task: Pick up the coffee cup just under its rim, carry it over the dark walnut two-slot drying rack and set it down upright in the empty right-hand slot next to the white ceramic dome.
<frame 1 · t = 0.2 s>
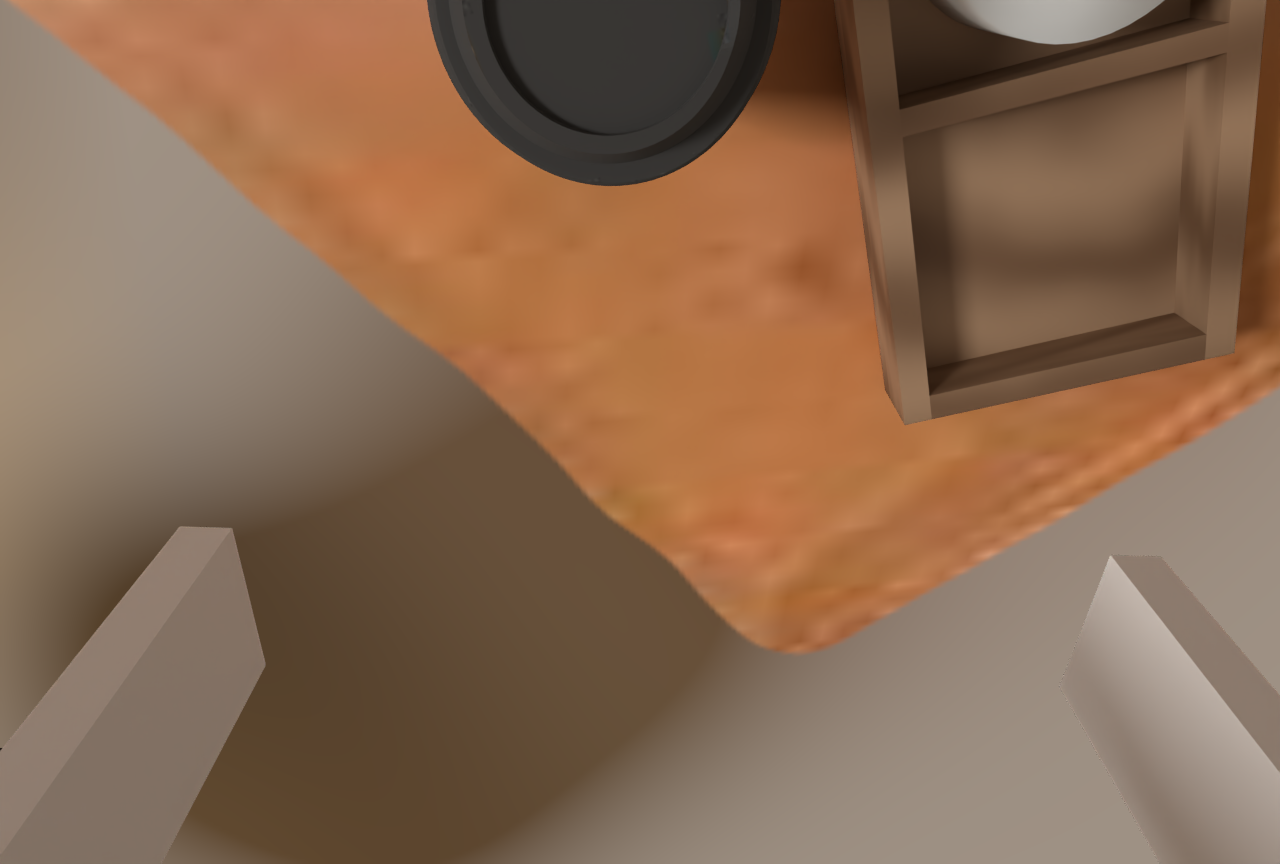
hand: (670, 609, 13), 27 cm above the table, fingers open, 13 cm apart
rack: (1023, 70, 34), on the table
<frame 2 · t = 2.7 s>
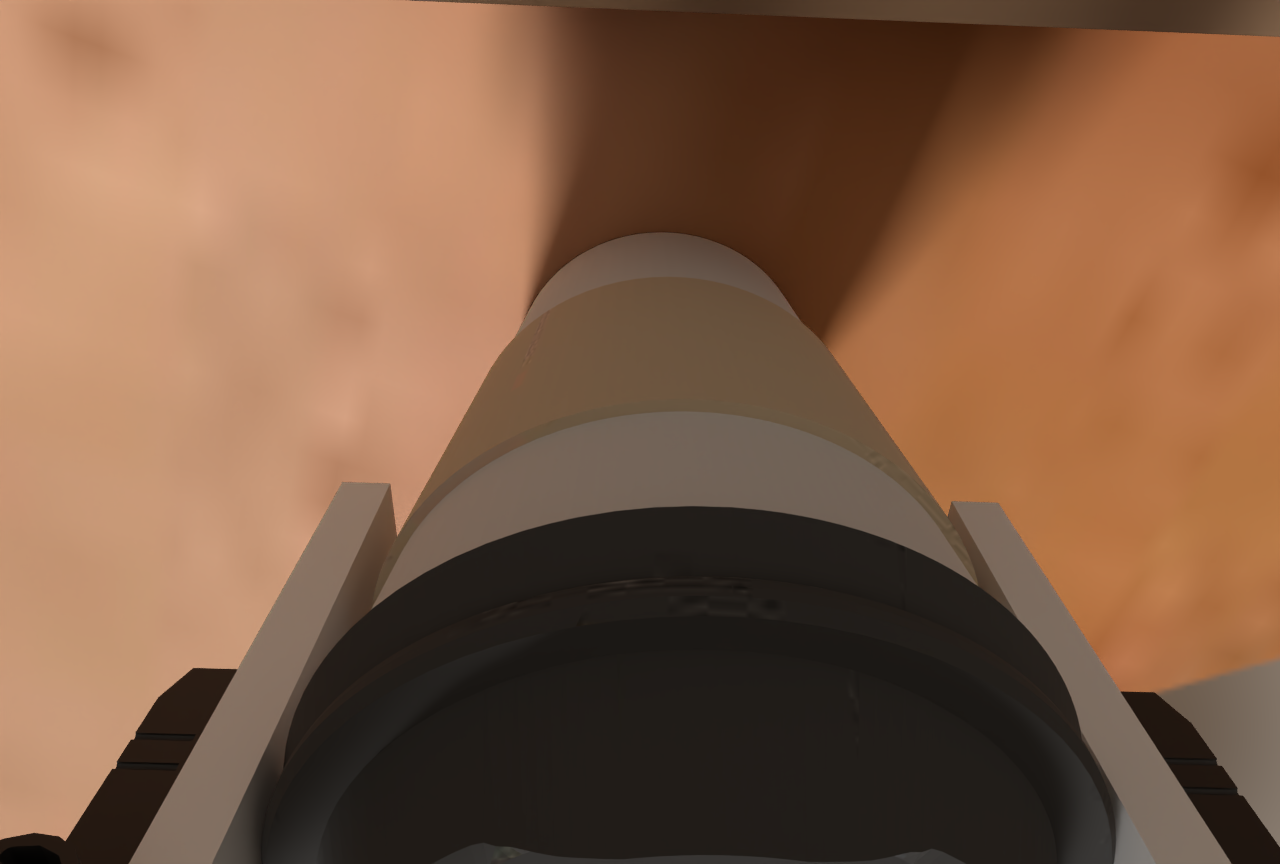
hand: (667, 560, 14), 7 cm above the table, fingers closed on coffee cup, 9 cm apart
coffee cup: (659, 364, 21), on the table, touching gripper
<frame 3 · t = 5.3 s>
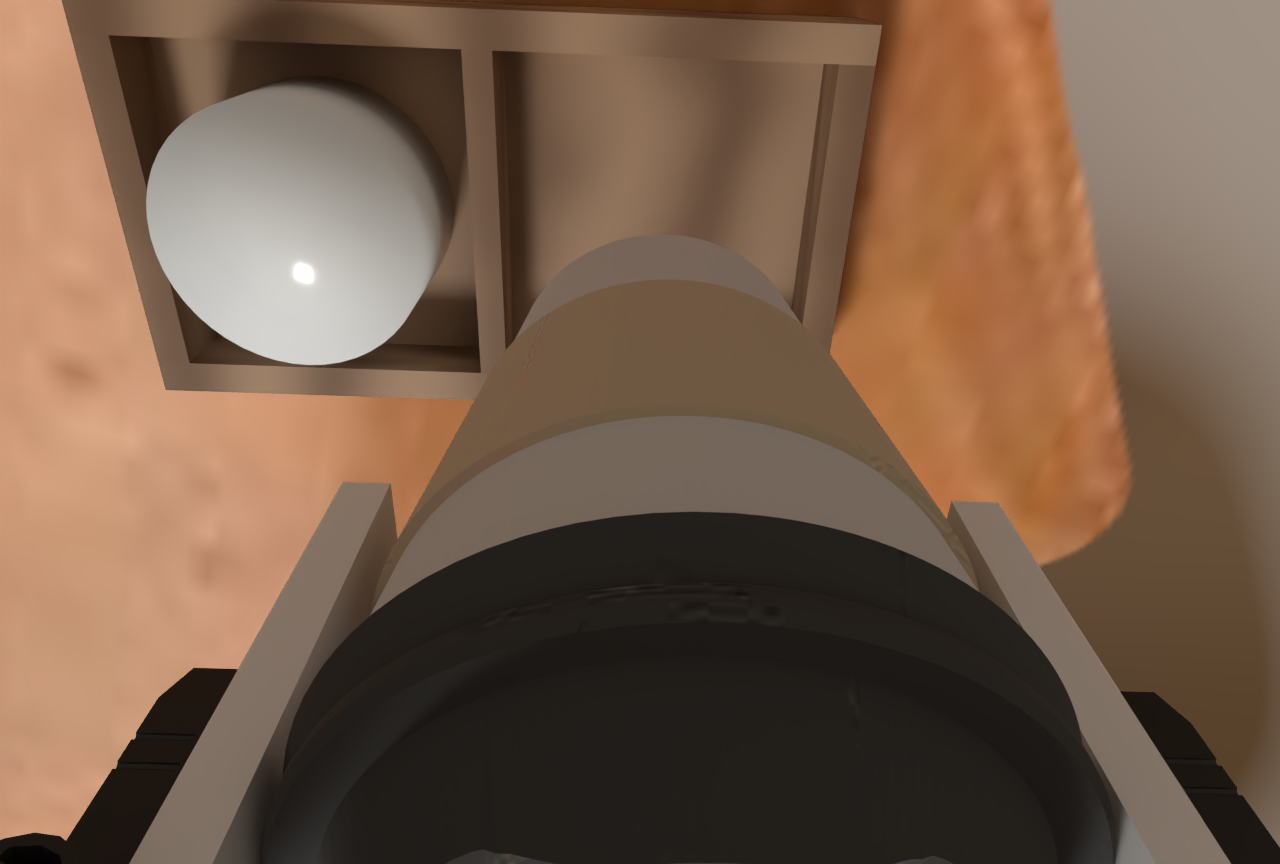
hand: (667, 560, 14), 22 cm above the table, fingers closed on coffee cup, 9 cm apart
white ceramic dome: (335, 202, 32), point 1 cm above the table, touching rack
coffee cup: (659, 366, 21), point 15 cm above the table, touching gripper
rack: (500, 201, 33), on the table
when the fingers open (10 cm above the table, at t = 8.0 s): coffee cup drops 1 cm, resting on rack.
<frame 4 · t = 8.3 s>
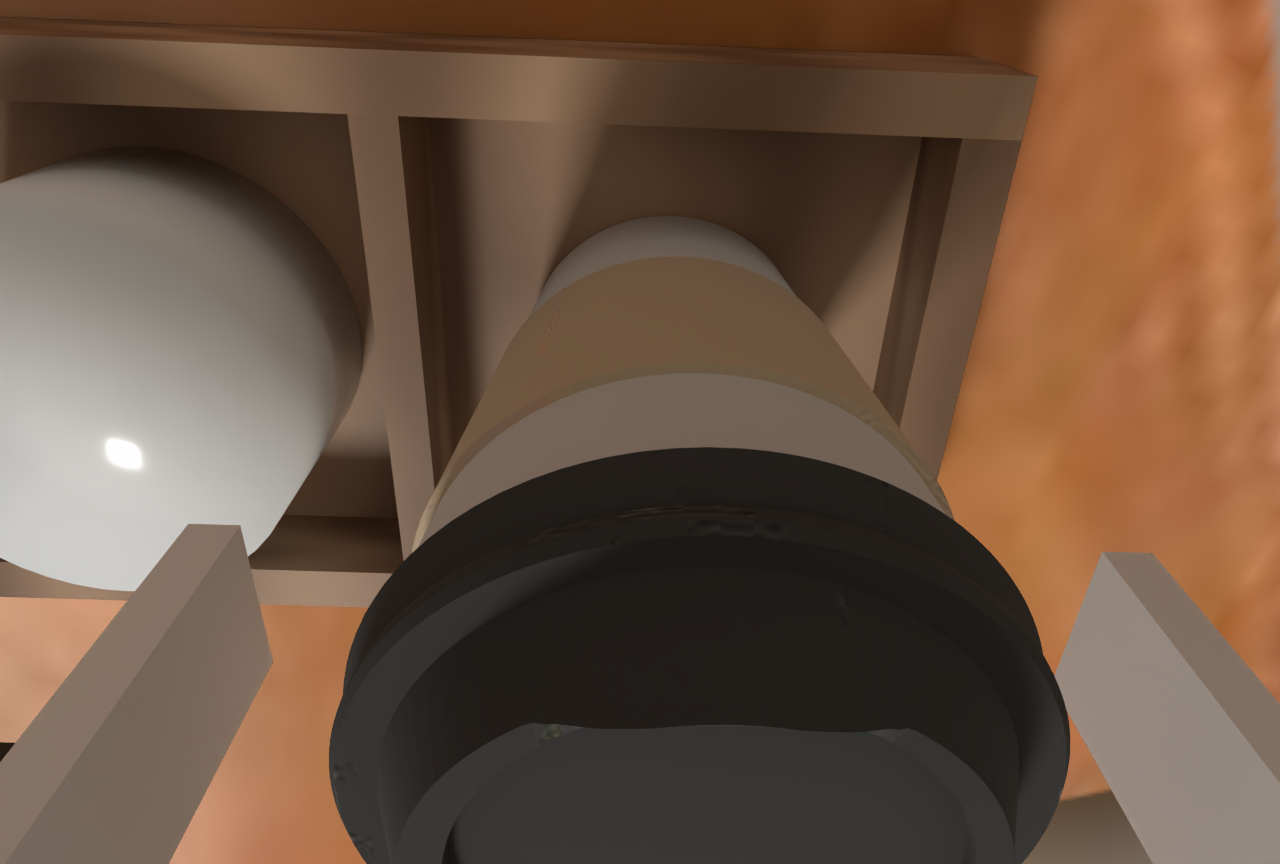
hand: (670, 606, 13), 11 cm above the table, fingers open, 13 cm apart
white ceramic dome: (185, 327, 22), point 1 cm above the table, touching rack
coffee cup: (664, 341, 22), point 1 cm above the table, touching rack
rack: (434, 320, 23), on the table
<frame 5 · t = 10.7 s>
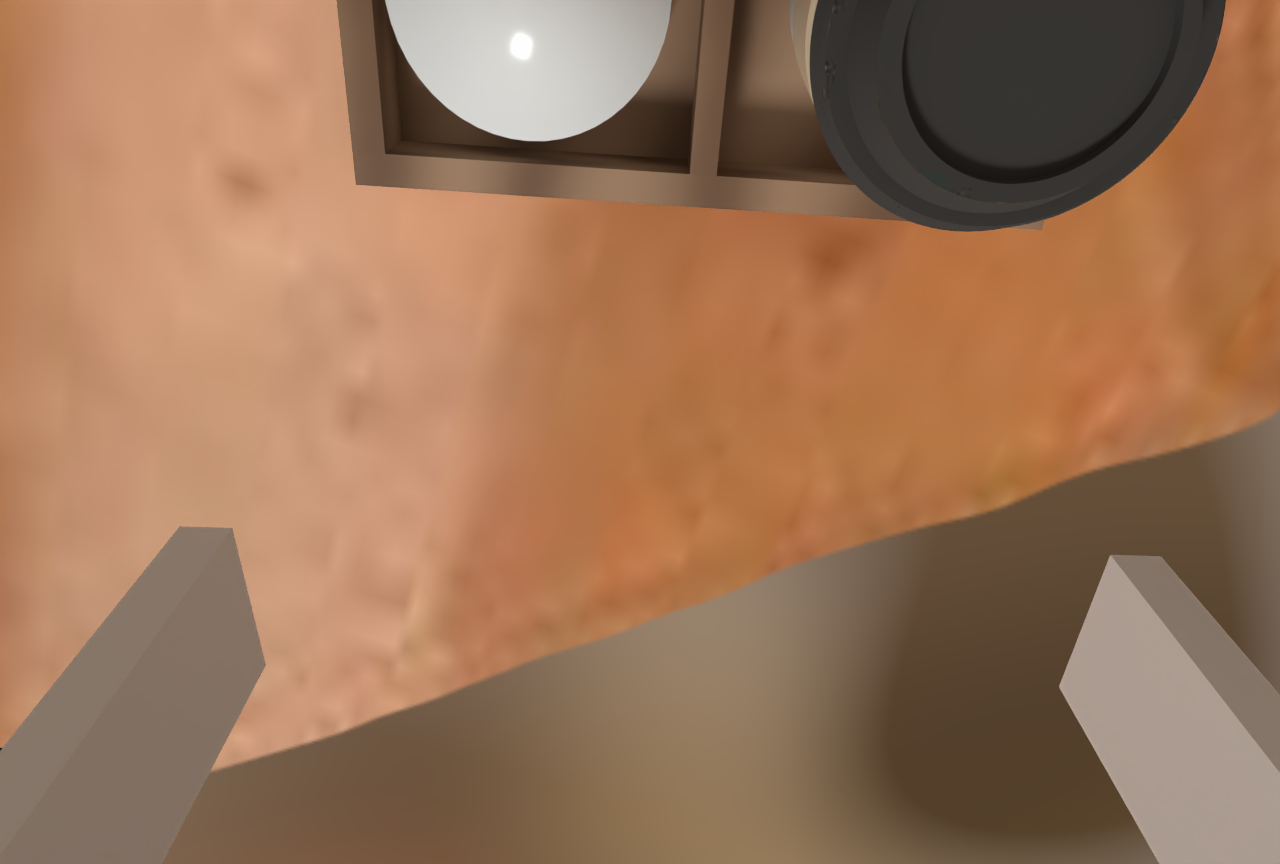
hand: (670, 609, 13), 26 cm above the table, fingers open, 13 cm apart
coffee cup: (883, 7, 31), point 1 cm above the table, touching rack
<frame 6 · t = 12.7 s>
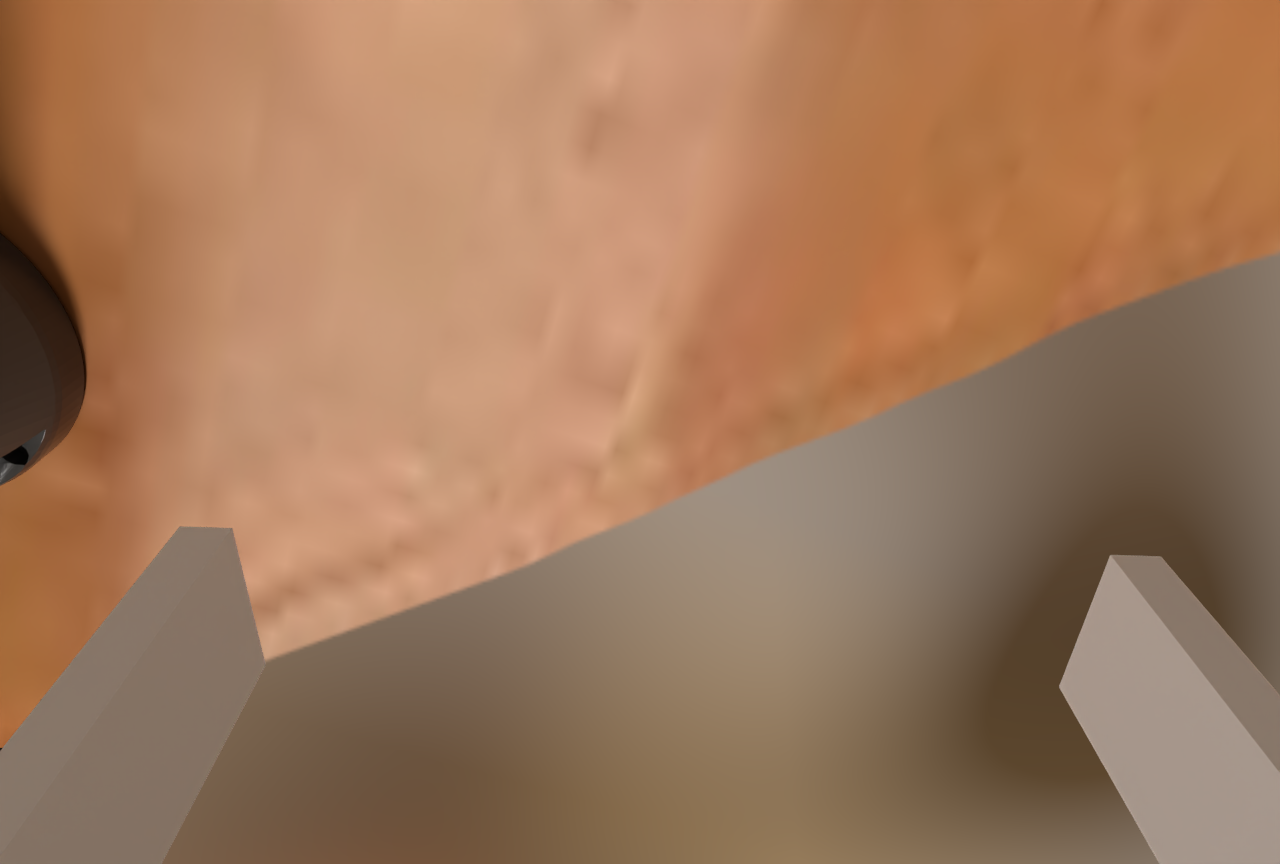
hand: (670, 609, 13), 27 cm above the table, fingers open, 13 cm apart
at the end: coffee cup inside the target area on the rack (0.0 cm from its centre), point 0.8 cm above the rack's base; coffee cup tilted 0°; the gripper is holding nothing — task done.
